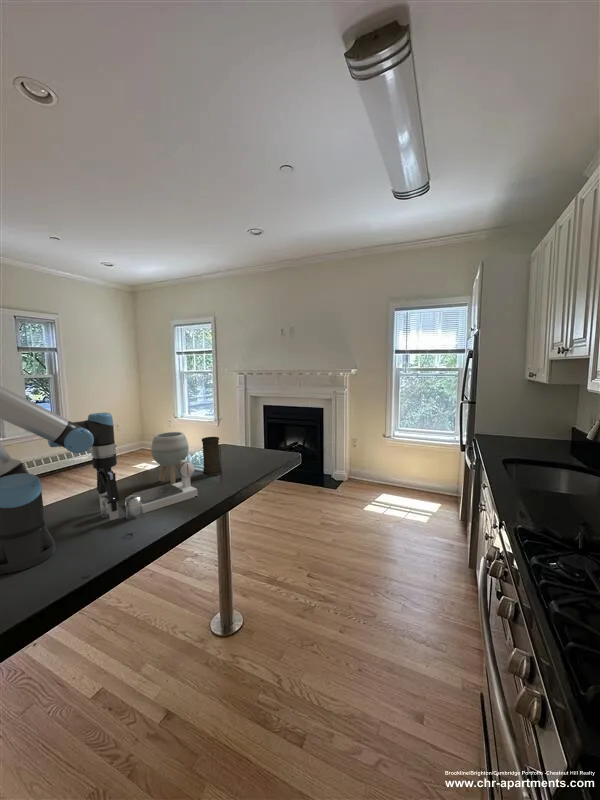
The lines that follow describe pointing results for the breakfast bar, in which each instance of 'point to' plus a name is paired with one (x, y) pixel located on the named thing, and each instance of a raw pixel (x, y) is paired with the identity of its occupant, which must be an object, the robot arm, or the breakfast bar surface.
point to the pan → (158, 493)
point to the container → (211, 456)
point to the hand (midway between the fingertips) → (109, 514)
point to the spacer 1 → (104, 506)
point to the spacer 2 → (133, 507)
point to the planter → (169, 452)
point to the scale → (185, 485)
